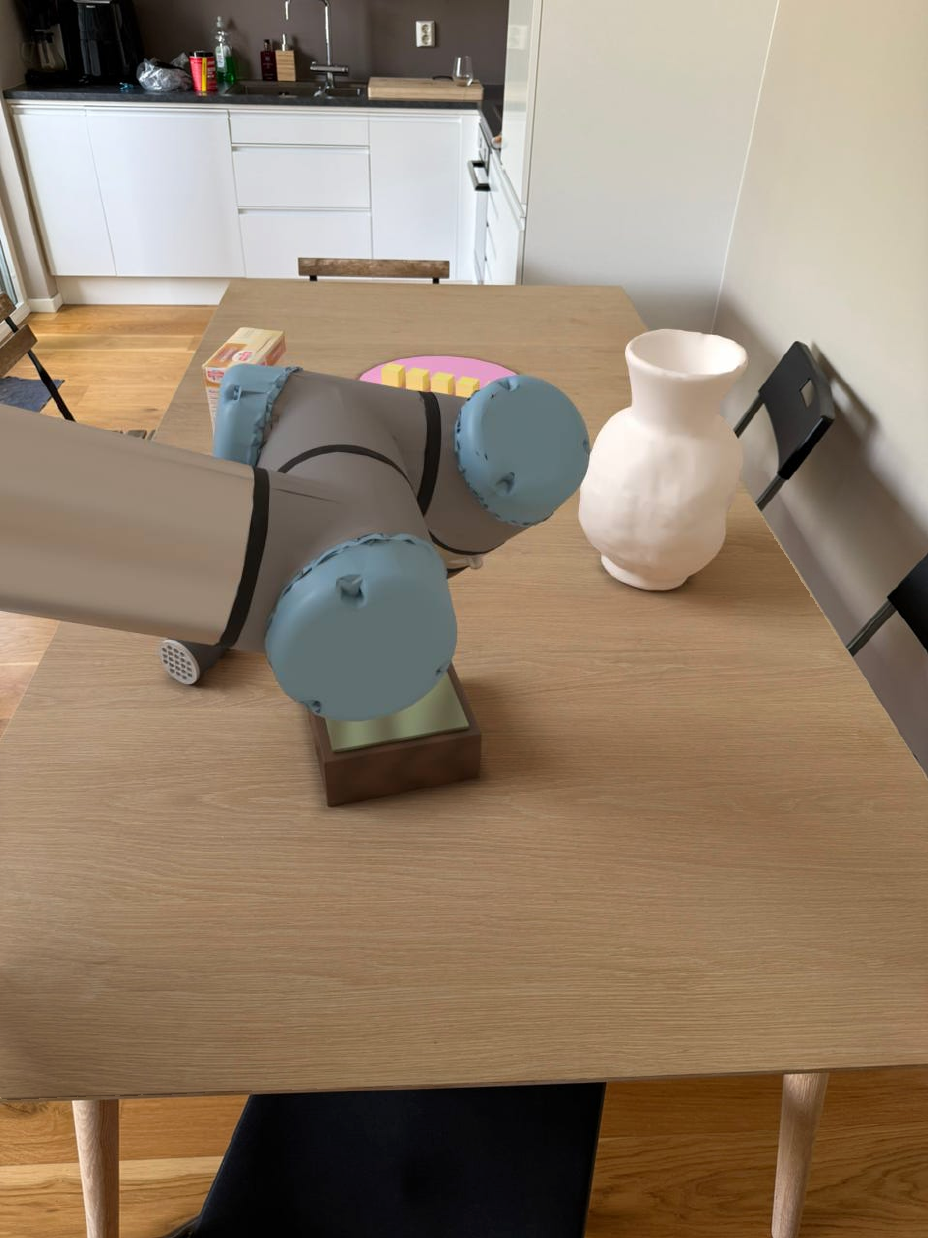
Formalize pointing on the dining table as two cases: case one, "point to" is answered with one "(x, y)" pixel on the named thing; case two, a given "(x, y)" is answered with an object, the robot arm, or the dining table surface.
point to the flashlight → (189, 658)
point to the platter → (437, 374)
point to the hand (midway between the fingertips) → (365, 585)
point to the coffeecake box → (242, 358)
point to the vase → (666, 461)
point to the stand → (400, 747)
